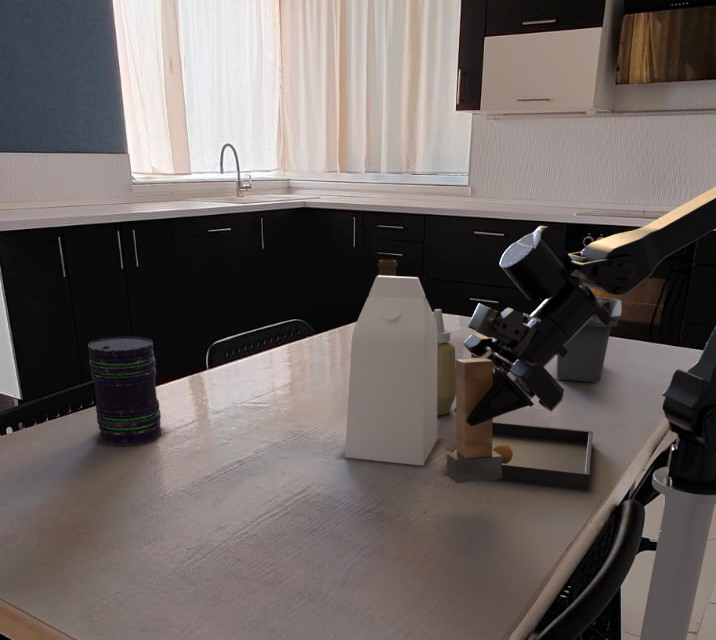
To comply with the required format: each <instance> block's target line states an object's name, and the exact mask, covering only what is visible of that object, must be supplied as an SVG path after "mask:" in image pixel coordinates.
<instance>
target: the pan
mask: <svg viewBox="0 0 716 640" xmlns="http://www.w3.org/2000/svg"><path fill="white" fill-rule="evenodd" d="M593 435H594V431H593V430H584V429H573V428H565V427H553V426H542V425H533V424H524V423H515V422H514V423H513V422H512V423H511V422H503V421H493V420H492V450H493V449H494V447H495V446H497V445H499V444H506V445H508V446H509V447H510V448H511V449H512V452H513V456H512V459H511V460H510V462H508V463H507V464H503V463H502V479H497V480H499V481H508V482H516V483H525V484H532V485H542V486H551V487H559V488H567V489H576V490H584V491H588V487H589V481H590V473H591V462H592V461H591V460H592V448H593ZM454 452H457V450H456V448H455V449H454V451H453V453H454Z"/></svg>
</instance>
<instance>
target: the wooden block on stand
mask: <svg viewBox="0 0 716 640" xmlns="http://www.w3.org/2000/svg"><path fill="white" fill-rule="evenodd" d="M455 361H456V396H455V408H456V412H455V418H456V420H455V421H456V422H455V423H456V425H455V426H456V427H455V428H456V429H455V432H456V433H455V435H456V438H455V439H456V443H455V445H456V446H455V447H456V448H455V449H456V450H457V452H454V451H453V452H447V453H446V475H447V476H448V477H449V478H450V479H451V480H452V481H453V482H455V483H456V484H460V483H471V482H482V481H493V480H494V481H495V480H498V479H502V456H501V455H499V454H498V453H496V452H495V451H493V450H492V421H493V418H492V419H489V420H487V421H484V422H482V423H479V424H477V425H474V426H471V425H470V424H469V423H468V422H467V421H466V420H467V418H468V417H469V415H470V414H471V412H472V411H473V410H474V408H475V407H476V406H477V405H478V403H479V402H480V401H481V399H482V398H483V397H484V396H485V394H486V393H487V392H488V391H489V389H490V388H491V387H492V386H493V361H492V360H489V359H485V358H471V357H469V358H457V359H456V358H455Z"/></svg>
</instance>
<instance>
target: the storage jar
mask: <svg viewBox="0 0 716 640" xmlns="http://www.w3.org/2000/svg"><path fill="white" fill-rule="evenodd" d="M153 348H154V342H153V340H152V339H149V338H148V337H147V338H146V337H141V336H115V337H105V338H100V339H96V340H93V341H90V342H89V343H88V344H87V349H88V352H89V370H90V371H91V374H90V377H91V380H92V382H93V383H94V390H95V397H96V404H95V412H96V421H97V425H98V429H99V431H100V432H99V438H100V440H101V441H102V442H103V443H106V444H109V445H116V446H118V445H119V446H131V445H139V444H145V443H148V442H151V441H155V440H156V439H158V438H160V436H161V435H162V433H163V432H162V428H161V424H162V422H161V421H162V420H161V419H162V416H161V414H162V413H161V409H160V401H159V399H158V398H157V388H156V386H157V385H156V377H157V370H156V358H155V354H154V349H153Z"/></svg>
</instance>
